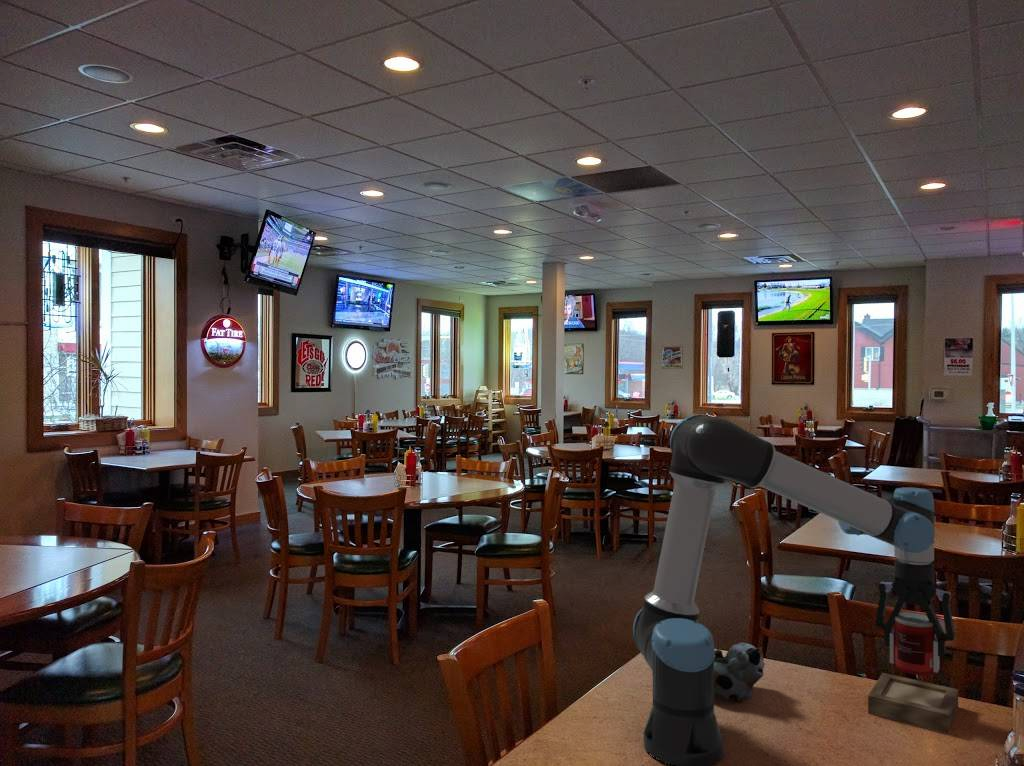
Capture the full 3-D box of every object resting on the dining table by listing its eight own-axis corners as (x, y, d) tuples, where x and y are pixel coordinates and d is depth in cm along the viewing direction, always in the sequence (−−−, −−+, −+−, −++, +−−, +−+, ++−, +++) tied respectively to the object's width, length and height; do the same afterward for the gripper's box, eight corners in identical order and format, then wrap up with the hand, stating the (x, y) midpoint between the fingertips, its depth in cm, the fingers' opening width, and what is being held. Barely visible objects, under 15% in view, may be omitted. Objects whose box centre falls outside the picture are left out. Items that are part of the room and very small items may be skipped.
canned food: (924, 661, 163) (924, 612, 162) (942, 676, 155) (941, 624, 154) (888, 660, 163) (888, 611, 163) (903, 675, 155) (903, 623, 155)
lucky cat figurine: (706, 674, 178) (735, 624, 178) (751, 707, 171) (780, 655, 171) (686, 677, 166) (716, 623, 166) (733, 713, 159) (765, 656, 158)
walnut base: (868, 713, 158) (868, 695, 158) (882, 689, 170) (882, 672, 169) (949, 733, 149) (949, 715, 148) (958, 706, 160) (958, 689, 160)
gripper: (971, 563, 155) (971, 671, 156) (866, 550, 168) (866, 650, 168) (967, 571, 149) (967, 683, 150) (858, 557, 162) (859, 660, 162)
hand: (914, 665), depth 159 cm, fingers closed on canned food, 8 cm apart
